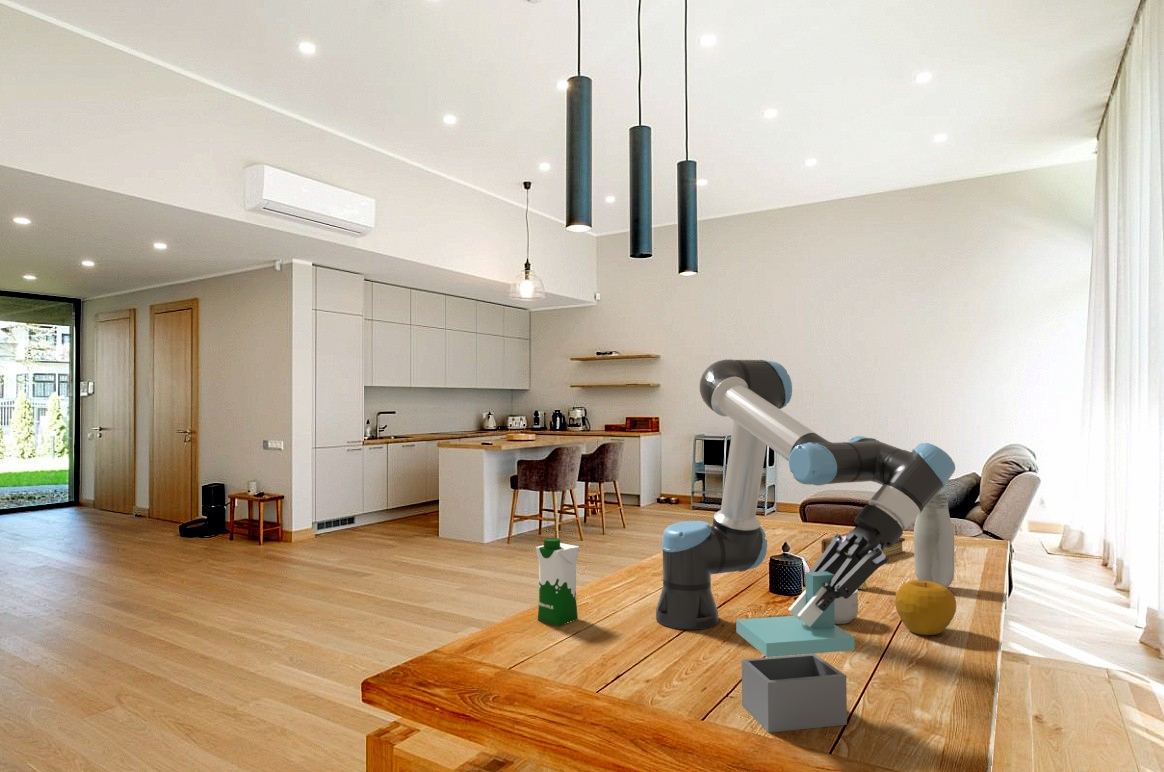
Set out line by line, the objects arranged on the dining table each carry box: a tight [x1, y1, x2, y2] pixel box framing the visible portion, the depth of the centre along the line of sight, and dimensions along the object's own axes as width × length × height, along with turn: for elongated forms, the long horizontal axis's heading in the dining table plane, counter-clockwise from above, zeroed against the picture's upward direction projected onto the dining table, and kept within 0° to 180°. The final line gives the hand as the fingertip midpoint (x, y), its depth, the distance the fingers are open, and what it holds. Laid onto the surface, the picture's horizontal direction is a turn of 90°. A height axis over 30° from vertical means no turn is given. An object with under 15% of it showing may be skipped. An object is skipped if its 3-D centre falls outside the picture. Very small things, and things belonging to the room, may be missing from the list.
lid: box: [735, 571, 856, 658], centre depth 115 cm, size 16×12×11 cm
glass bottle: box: [913, 491, 955, 588], centre depth 192 cm, size 10×10×28 cm
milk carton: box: [535, 537, 580, 627], centre depth 165 cm, size 9×9×20 cm
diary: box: [820, 532, 906, 559], centre depth 238 cm, size 23×19×6 cm
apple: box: [894, 580, 957, 636], centre depth 156 cm, size 13×13×11 cm
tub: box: [741, 653, 848, 734], centre depth 115 cm, size 14×10×8 cm
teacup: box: [834, 589, 859, 625], centre depth 166 cm, size 14×11×8 cm
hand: (799, 617), depth 115 cm, fingers closed on lid, 2 cm apart
